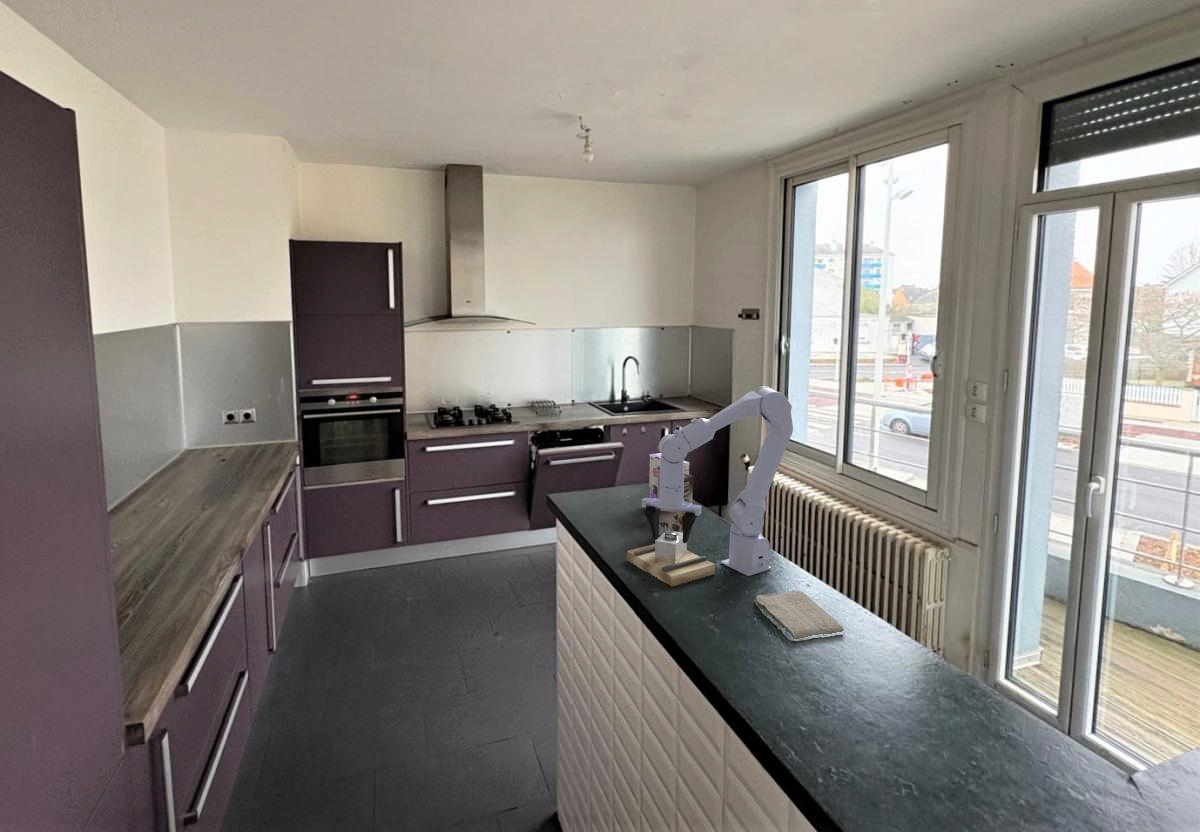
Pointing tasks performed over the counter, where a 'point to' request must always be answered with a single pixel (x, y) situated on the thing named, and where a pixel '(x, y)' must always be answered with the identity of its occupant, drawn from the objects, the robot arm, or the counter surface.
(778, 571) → the counter surface
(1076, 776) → the counter surface
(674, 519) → the coffee box
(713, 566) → the stand
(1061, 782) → the counter surface
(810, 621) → the washcloth
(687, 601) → the counter surface
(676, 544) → the block
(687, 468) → the candy box
